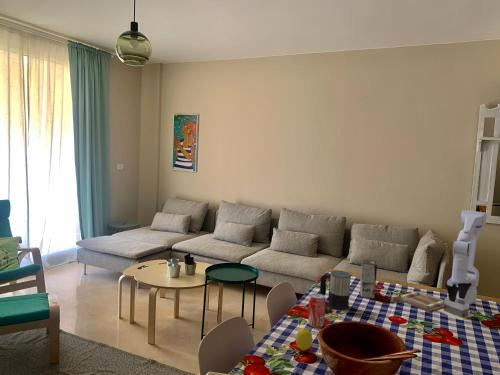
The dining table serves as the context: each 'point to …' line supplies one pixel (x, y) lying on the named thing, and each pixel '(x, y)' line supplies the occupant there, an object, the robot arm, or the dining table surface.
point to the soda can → (316, 310)
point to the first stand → (455, 315)
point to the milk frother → (336, 289)
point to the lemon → (304, 339)
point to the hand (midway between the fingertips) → (456, 299)
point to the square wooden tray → (421, 301)
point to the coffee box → (368, 278)
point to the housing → (456, 307)
